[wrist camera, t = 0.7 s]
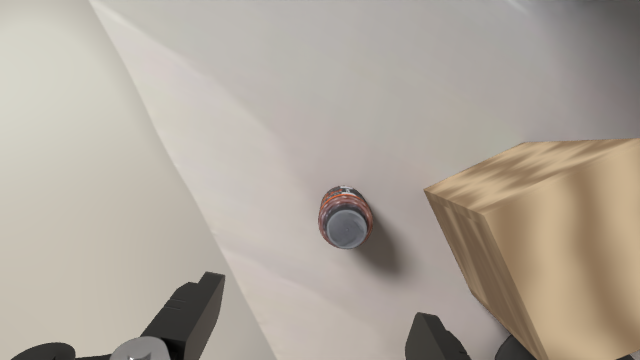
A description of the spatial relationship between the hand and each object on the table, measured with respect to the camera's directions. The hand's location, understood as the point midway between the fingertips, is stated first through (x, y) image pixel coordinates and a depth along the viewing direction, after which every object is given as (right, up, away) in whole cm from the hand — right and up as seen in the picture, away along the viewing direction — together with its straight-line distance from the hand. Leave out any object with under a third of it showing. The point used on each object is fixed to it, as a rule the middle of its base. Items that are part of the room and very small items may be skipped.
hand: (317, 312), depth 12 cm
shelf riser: (+24, 0, +27) cm, 36 cm away
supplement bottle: (+3, +2, +28) cm, 28 cm away
